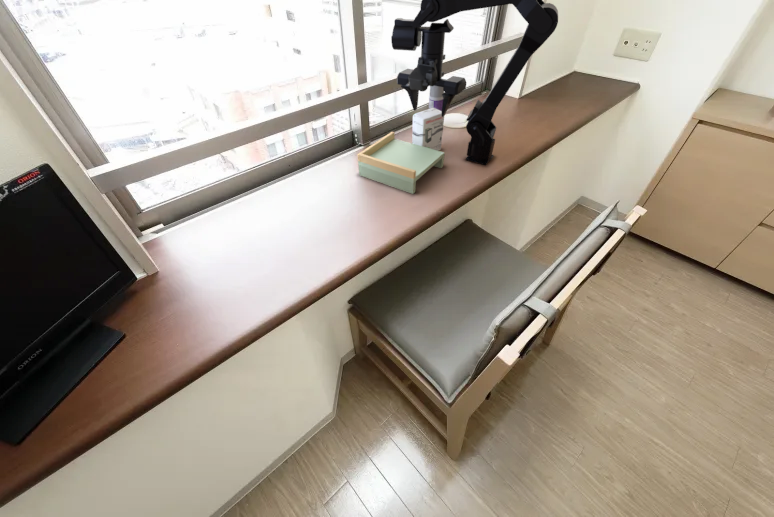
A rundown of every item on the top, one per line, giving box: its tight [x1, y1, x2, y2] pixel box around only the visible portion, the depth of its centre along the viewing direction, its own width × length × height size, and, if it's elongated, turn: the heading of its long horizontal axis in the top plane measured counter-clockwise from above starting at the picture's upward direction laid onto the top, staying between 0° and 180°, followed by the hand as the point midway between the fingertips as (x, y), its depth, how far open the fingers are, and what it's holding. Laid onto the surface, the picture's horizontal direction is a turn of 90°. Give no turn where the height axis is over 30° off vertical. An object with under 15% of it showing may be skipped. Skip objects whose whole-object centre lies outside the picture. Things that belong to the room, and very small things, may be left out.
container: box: [428, 86, 444, 111], centre depth 113 cm, size 5×5×15 cm
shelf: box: [357, 131, 446, 195], centre depth 96 cm, size 18×17×6 cm
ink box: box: [411, 108, 445, 151], centre depth 102 cm, size 9×5×12 cm, turn 128°
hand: (428, 113), depth 98 cm, fingers open, 9 cm apart
